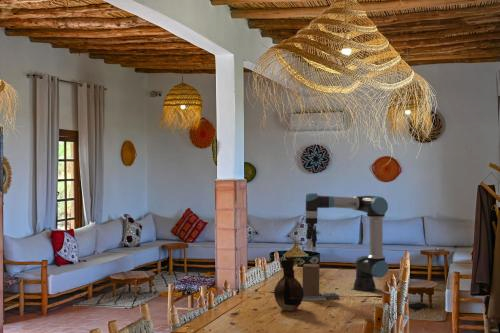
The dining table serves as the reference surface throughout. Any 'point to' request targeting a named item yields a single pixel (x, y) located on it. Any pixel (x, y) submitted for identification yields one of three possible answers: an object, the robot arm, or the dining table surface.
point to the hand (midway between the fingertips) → (311, 250)
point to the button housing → (331, 296)
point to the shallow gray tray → (314, 297)
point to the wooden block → (311, 279)
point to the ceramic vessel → (288, 288)
